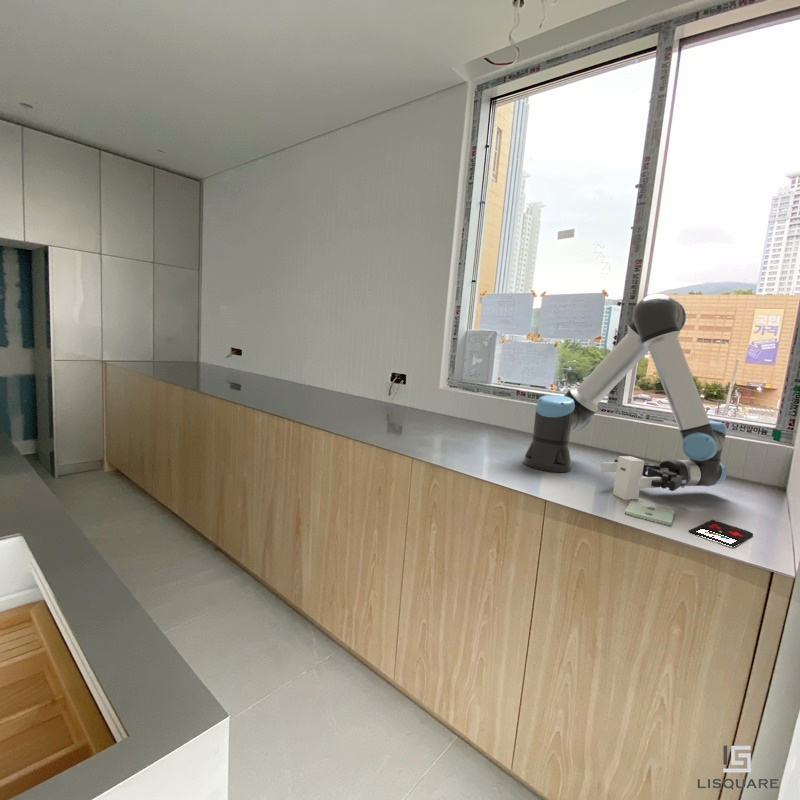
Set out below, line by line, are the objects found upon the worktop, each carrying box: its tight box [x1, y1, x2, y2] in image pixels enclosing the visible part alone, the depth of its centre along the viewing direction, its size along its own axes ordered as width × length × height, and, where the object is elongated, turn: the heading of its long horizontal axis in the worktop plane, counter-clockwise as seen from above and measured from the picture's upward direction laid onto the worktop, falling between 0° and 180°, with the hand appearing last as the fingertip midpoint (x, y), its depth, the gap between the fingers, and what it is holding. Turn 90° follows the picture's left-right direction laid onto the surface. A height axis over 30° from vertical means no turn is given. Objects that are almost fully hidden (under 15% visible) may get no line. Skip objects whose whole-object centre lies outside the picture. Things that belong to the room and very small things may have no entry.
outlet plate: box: [624, 500, 675, 527], centre depth 113 cm, size 10×10×1 cm
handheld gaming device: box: [688, 519, 754, 547], centre depth 104 cm, size 9×1×15 cm
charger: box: [612, 455, 645, 501], centre depth 124 cm, size 4×5×11 cm
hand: (620, 474), depth 123 cm, fingers open, 13 cm apart
